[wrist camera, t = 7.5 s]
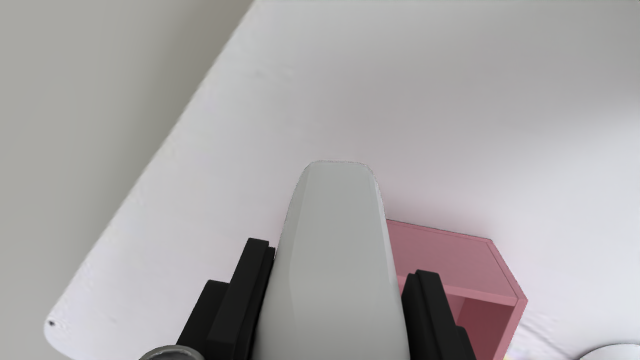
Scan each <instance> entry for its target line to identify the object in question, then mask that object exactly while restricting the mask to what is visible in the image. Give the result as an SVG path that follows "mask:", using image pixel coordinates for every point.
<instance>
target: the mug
mask: <svg viewBox="0 0 640 360" xmlns="http://www.w3.org/2000/svg"><path fill="white" fill-rule="evenodd" d="M579 360H640V345H636V344H615V345H610V346H605V347H602V348H599V349H596V350H594V351H592V352H590V353H588V354H586V355H585V356H583V357H582V358H581V359H579Z"/></svg>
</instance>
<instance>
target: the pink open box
mask: <svg viewBox="0 0 640 360" xmlns="http://www.w3.org/2000/svg"><path fill="white" fill-rule="evenodd" d="M386 223H387V228H388V233H389V239H390V244H391V249H392V254H393V260H394V265H395V270H396V276H397V281H398V286H399V291H400V297H401V295H402V292H403V288H404V285H405V281H406V278H407V275H408V274H409V273H413V274H415V271H416V270H417V269H420V270H425V271H431V272H436V273H438V274H439V276H440V279H441V282H442V285H443V288H444V291H445V294H446V297H447V300H448V303H449V306H450V309H451V312H452V315H453V318H454V321H455V324H456V325H457V326H462V327H464V328H465V330H466V332H467V334H468V337H469V340H470V343H471V345H472V348H473V351H474V354H475V356H476V359H477V360H503V358H504V356H505V353H506V351H507V349H508V346H509V344H510V342H511V339H512V337H513V335H514V332H515V330H516V328H517V326H518V323H519V321H520V319H521V316H522V314H523V312H524V309H525V307H526V305H527V302H528V299H527V298H526V296H525V294H524V293H523V291H522V289H521V288H520V286H519V285H518V283H517V281H516V280H515V278H514V276H513V275H512V273H511V271H510V270H509V268H508V266H507V265H506V263H505V261H504V260H503V258H502V256H501V255H500V253H499V251H498V250H497V248H496V246H495V245H494V243H493V241H492V240H489V239H484V238H479V237H474V236H469V235H464V234H459V233H454V232H448V231H443V230H438V229H433V228H428V227H423V226H418V225H412V224H407V223H402V222H397V221H392V220H387V219H386Z"/></svg>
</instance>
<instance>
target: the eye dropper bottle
mask: <svg viewBox="0 0 640 360" xmlns="http://www.w3.org/2000/svg"><path fill="white" fill-rule="evenodd" d="M249 360H410V352H409V344H408V337H407V330H406V325H405V319H404V313H403V308H402V302H401V297H400V291H399V286H398V281H397V276H396V270H395V265H394V260H393V254H392V249H391V244H390V239H389V233H388V228H387V223H386V218H385V213H384V207H383V202H382V198H381V194H380V190H379V187H378V184H377V181H376V178H375V176H374V174H373V172H372V171H371V170H370V169H369V167H368V166H366V165H364V164H361V163H355V162H340V161H316V162H312V163H310V164H309V165H308V166H307V167H306V168H305V169H304V171H303V173H302V175H301V176H300V178H299V181H298V183H297V185H296V188H295V190H294V193H293V196H292V199H291V202H290V206H289V209H288V213H287V216H286V220H285V223H284V227H283V230H282V234H281V237H280V241H279V244H278V248H277V251H276V255H275V259H274V262H273V266H272V269H271V273H270V276H269V280H268V283H267V287H266V290H265V294H264V298H263V301H262V305H261V309H260V312H259V316H258V320H257V324H256V328H255V331H254V336H253V340H252V344H251V350H250V355H249Z"/></svg>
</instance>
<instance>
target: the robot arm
mask: <svg viewBox="0 0 640 360" xmlns="http://www.w3.org/2000/svg"><path fill="white" fill-rule="evenodd" d="M268 246H269V241H265V240H260V239H254V238H248V241H247V243H246V245H245V248H244V250H243V253H242V255H241V257H240V260H239V262H238V265H237V267H236V269H235V272H234V274H233V276H232V279H231V281H230V283H225V282H220V281H214V280H208V282H207V283H206V285H205V287H204V289H203V291H202V293H201V295H200V297H199V299H198V301H197V303H196V305H195V307H194V309H193V311H192V313H191V315H190V317H189V319H188V321H187V323H186V325H185V327H184V329H183V331H182V333H181V335H180V337H179V339H178V341H177V343H176V345H167V346H163V347H159V348H155V349H153V350H152V351H150V352H148V353H146V354H145V355H144V356H142V357H141V358H140V359H139V360H249V355H250V350H251V344H252V340H253V336H254V331H255V328H256V324H257V320H258V316H259V312H260V309H261V305H262V301H263V298H264V294H265V290H266V287H267V283H268V280H269V276H270V273H271V269H272V266H273V262H274V256H275V248H273V247H268ZM401 302H402V308H403V313H404V319H405V325H406V330H407V337H408V344H409V352H410V360H477V359H476V356H475V354H474V351H473V348H472V345H471V343H470V340H469V337H468V334H467V332H466V330H465V328H464V327H462V326H457V325H456V324H455V321H454V318H453V315H452V312H451V309H450V306H449V303H448V300H447V297H446V294H445V291H444V288H443V285H442V282H441V279H440V276H439V274H438V273H436V272H431V271H425V270H420V269H417V270H416V271H415V274H413V273H409V274H408V275H407V278H406V281H405V285H404V288H403V292H402V295H401Z"/></svg>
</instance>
